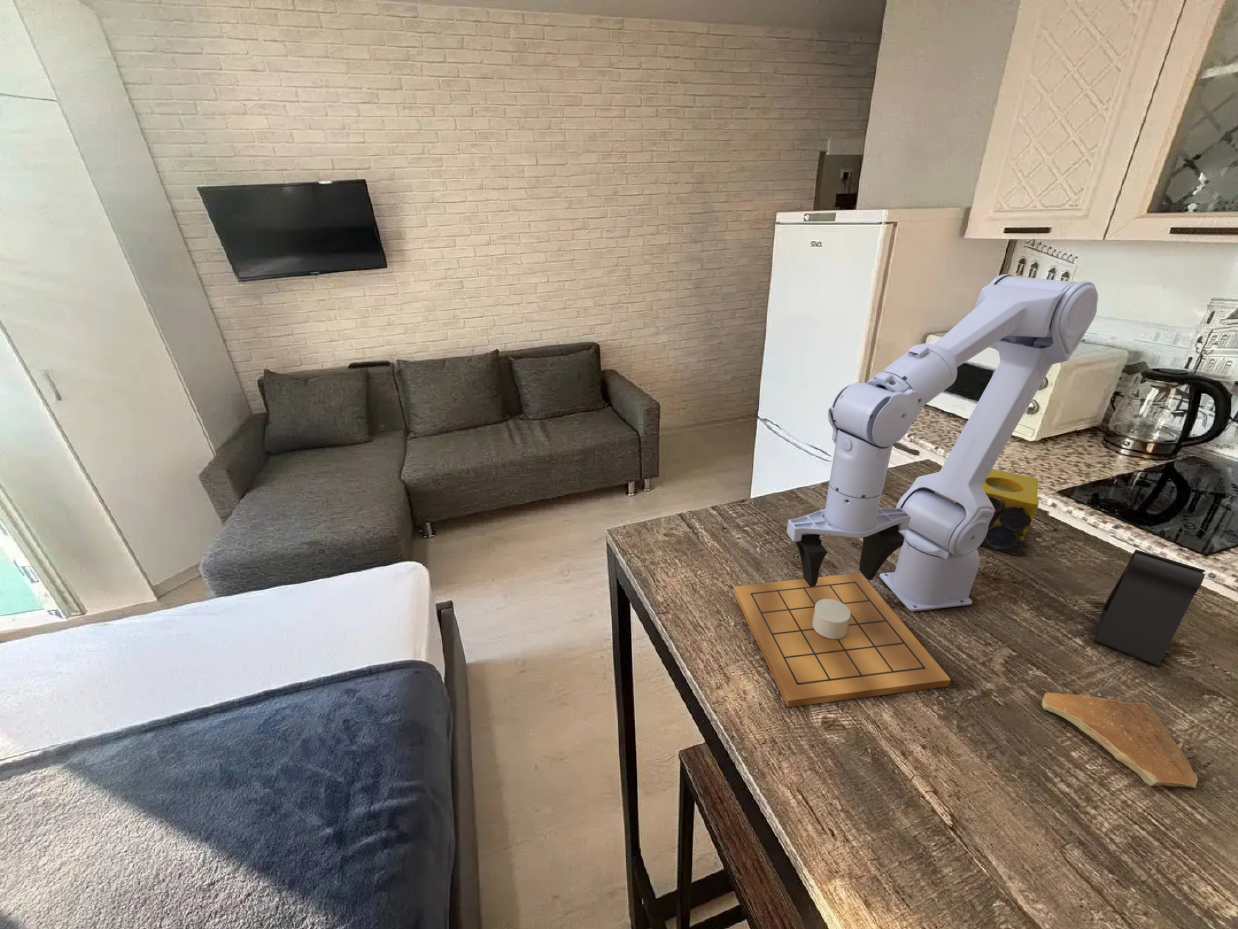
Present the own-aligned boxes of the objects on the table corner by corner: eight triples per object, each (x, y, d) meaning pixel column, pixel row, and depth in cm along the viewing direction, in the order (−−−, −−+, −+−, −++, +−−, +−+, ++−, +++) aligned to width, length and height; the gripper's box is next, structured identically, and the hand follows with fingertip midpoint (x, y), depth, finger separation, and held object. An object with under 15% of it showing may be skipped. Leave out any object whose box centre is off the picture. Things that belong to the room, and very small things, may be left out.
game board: (859, 578, 78) (860, 572, 78) (948, 686, 61) (951, 679, 60) (733, 592, 77) (733, 585, 76) (787, 707, 59) (788, 700, 58)
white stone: (836, 613, 70) (840, 596, 69) (853, 637, 66) (857, 620, 65) (806, 617, 70) (809, 600, 68) (821, 641, 66) (824, 624, 65)
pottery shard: (1033, 699, 59) (1040, 684, 58) (1114, 696, 59) (1123, 681, 57) (1113, 792, 49) (1123, 776, 48) (1210, 789, 49) (1222, 773, 48)
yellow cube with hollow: (952, 510, 94) (967, 462, 90) (1020, 527, 89) (1039, 477, 84) (946, 537, 87) (961, 486, 82) (1018, 557, 81) (1039, 504, 77)
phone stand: (1102, 606, 71) (1139, 535, 66) (1162, 628, 67) (1206, 555, 62) (1092, 641, 66) (1131, 567, 60) (1157, 668, 62) (1204, 591, 56)
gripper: (893, 465, 63) (873, 553, 70) (781, 475, 62) (771, 564, 68) (931, 493, 57) (905, 587, 63) (807, 505, 56) (793, 600, 62)
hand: (837, 578), depth 65 cm, fingers open, 7 cm apart
